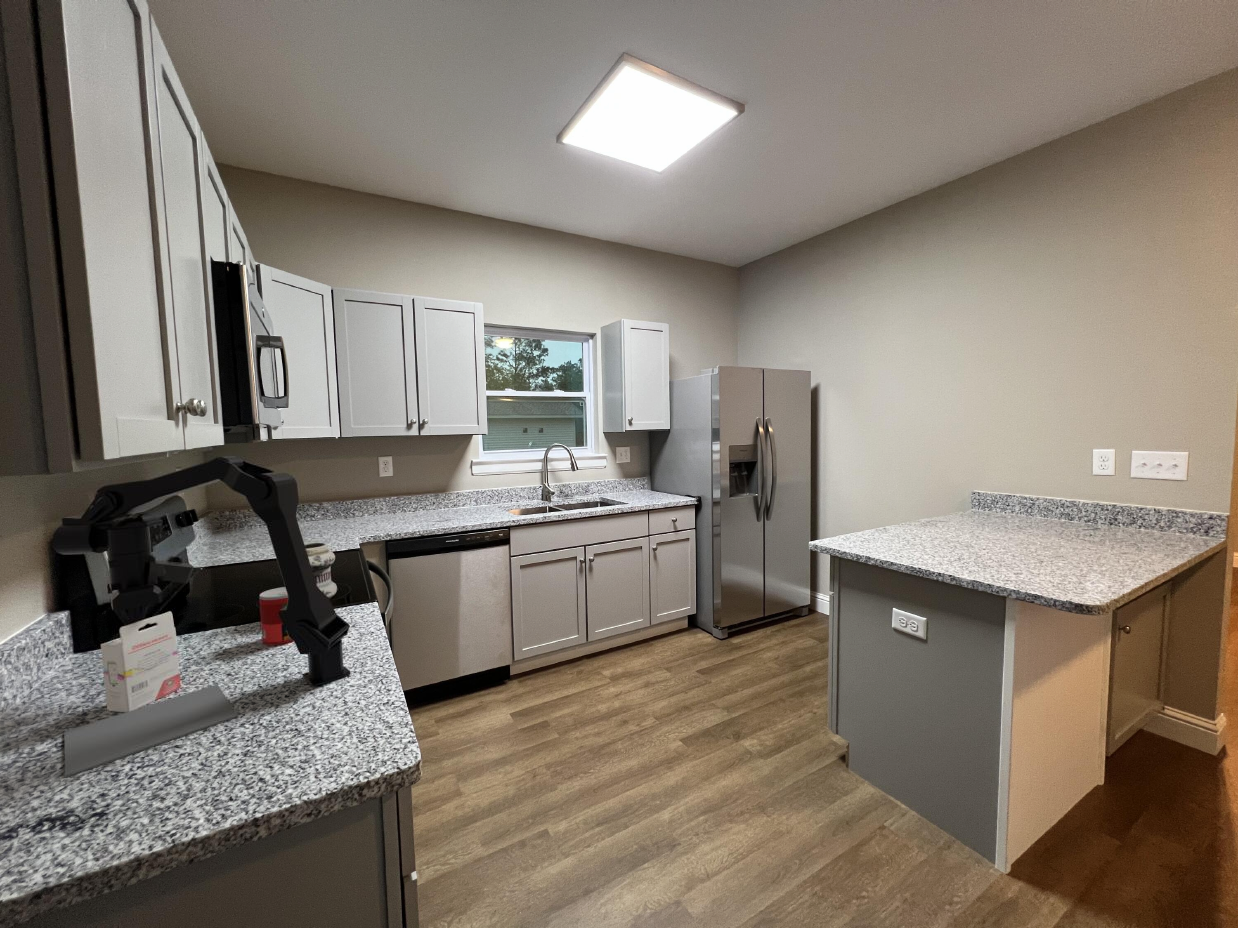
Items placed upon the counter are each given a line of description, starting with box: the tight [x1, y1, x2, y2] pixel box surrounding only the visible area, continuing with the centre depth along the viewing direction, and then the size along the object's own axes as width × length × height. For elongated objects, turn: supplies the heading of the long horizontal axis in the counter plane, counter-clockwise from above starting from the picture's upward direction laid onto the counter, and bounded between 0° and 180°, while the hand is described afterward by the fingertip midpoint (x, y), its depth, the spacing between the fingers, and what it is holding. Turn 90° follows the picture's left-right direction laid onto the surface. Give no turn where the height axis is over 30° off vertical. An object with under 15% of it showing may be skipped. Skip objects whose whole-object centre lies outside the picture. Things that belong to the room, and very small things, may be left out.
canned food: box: [258, 586, 294, 646], centre depth 114 cm, size 8×8×11 cm
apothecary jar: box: [304, 541, 338, 600], centre depth 130 cm, size 12×12×18 cm
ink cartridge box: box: [100, 611, 182, 713], centre depth 88 cm, size 9×5×15 cm, turn 168°
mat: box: [64, 684, 239, 778], centre depth 80 cm, size 16×19×1 cm
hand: (137, 635), depth 92 cm, fingers closed
